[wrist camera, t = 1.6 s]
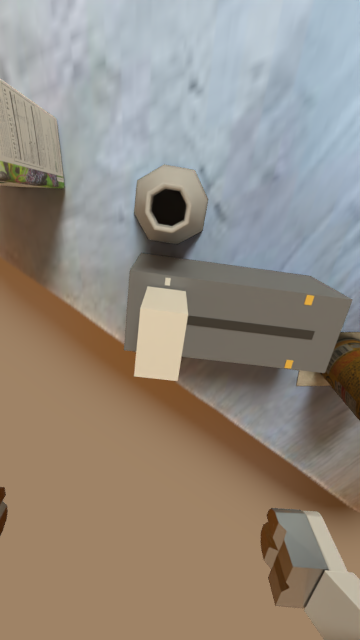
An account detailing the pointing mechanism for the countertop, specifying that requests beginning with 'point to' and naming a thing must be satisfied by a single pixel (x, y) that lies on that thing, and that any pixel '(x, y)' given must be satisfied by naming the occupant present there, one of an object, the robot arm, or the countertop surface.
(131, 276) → the console
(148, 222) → the flask
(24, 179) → the syrup box
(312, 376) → the condiment
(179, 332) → the fader
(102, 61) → the countertop surface
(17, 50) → the countertop surface
